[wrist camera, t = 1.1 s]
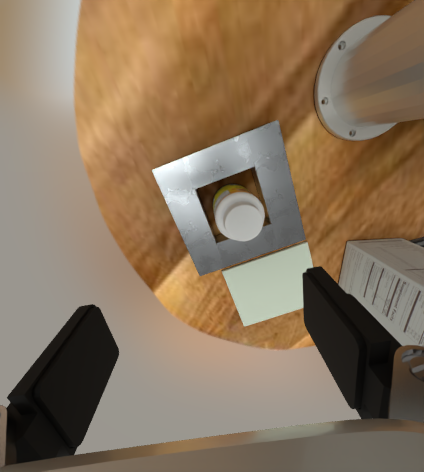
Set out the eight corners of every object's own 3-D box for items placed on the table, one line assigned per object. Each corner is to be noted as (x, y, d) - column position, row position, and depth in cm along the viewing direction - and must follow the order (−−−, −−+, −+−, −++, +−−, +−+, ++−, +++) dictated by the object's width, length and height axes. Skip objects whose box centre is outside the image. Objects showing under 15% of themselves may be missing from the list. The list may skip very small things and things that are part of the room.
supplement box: (335, 289, 38) (429, 385, 23) (345, 239, 35) (462, 312, 19) (389, 286, 39) (519, 379, 23) (404, 237, 35) (567, 306, 20)
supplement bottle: (258, 201, 32) (282, 223, 23) (230, 228, 33) (242, 259, 24) (232, 174, 31) (246, 184, 21) (204, 202, 32) (205, 224, 22)
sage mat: (306, 241, 35) (307, 242, 34) (319, 300, 39) (321, 302, 38) (221, 270, 36) (222, 271, 35) (243, 324, 40) (244, 326, 40)
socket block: (270, 122, 28) (278, 119, 26) (297, 232, 34) (305, 239, 31) (156, 168, 30) (151, 170, 27) (199, 266, 35) (199, 276, 33)
